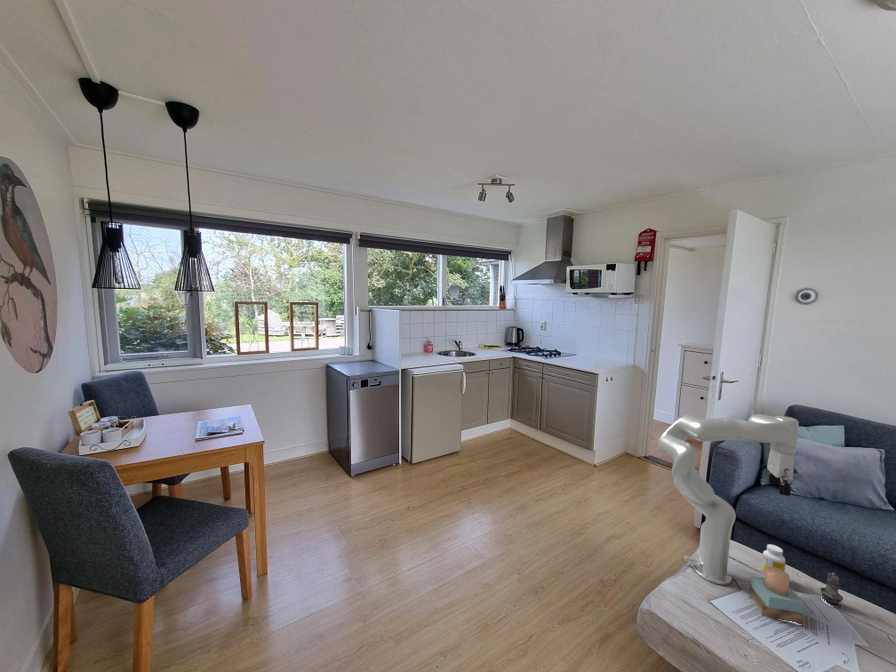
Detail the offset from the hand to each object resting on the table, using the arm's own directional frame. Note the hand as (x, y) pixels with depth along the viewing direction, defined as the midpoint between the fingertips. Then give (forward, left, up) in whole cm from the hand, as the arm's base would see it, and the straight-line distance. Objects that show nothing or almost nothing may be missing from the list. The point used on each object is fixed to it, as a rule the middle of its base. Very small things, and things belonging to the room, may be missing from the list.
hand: (778, 489), depth 143 cm
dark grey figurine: (+15, -8, -36) cm, 40 cm away
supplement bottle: (0, -2, -36) cm, 37 cm away
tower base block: (-6, -21, -37) cm, 43 cm away
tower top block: (-6, -21, -33) cm, 39 cm away
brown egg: (-6, -21, -29) cm, 36 cm away
